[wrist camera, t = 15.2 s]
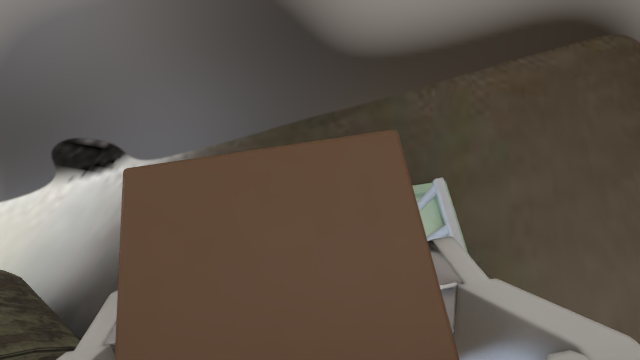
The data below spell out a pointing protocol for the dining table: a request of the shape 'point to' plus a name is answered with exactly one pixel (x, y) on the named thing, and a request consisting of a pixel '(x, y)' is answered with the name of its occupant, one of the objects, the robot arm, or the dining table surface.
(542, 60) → the dining table surface
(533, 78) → the dining table surface
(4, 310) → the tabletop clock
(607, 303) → the dining table surface
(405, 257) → the kraft box
